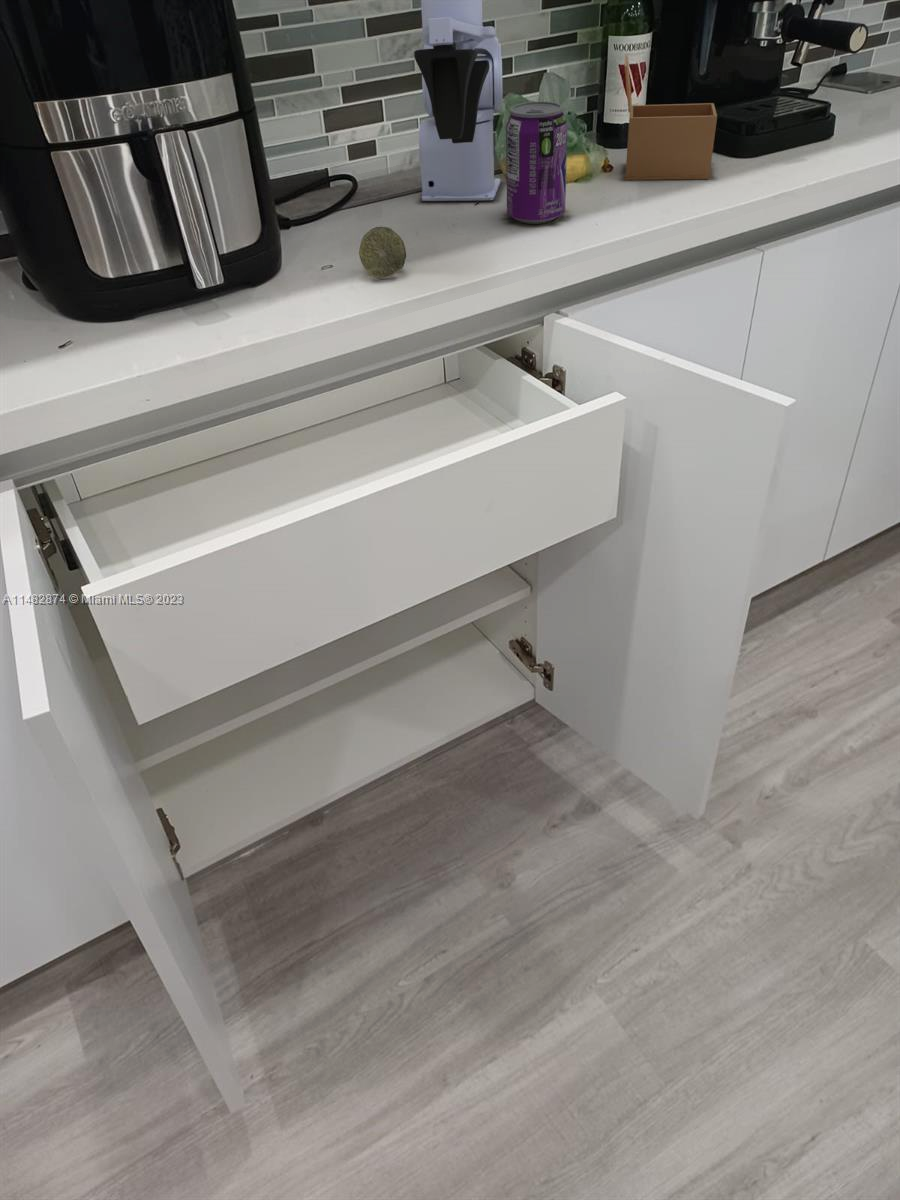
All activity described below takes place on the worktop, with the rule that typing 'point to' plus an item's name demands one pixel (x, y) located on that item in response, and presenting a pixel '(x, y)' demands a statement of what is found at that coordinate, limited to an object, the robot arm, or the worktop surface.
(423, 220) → the worktop surface
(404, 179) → the worktop surface
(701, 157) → the carton
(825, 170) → the worktop surface
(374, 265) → the lime
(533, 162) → the beverage can
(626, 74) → the flap
